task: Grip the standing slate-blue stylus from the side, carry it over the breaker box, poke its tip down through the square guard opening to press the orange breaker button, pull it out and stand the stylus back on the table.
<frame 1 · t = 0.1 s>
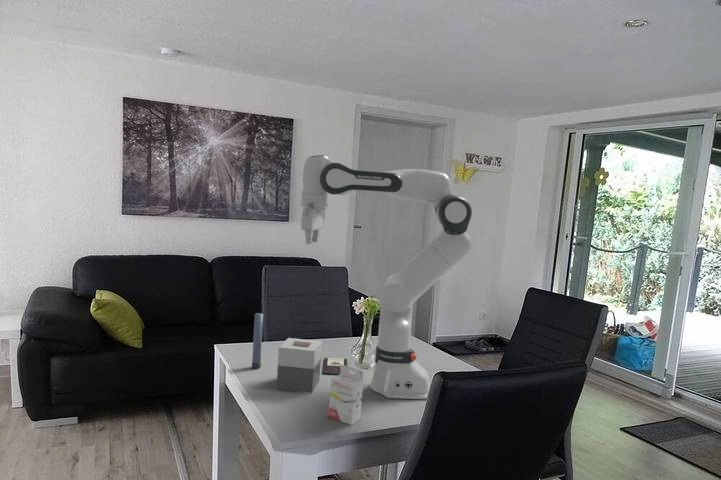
hand: (311, 243, 169), 48 cm above the table, tool pointing down, fingers open, 8 cm apart
chocolate bar: (335, 368, 187), on the table
stylus: (256, 367, 180), on the table
breaker box: (298, 384, 166), on the table
breaker button: (300, 351, 165), point 12 cm above the table, slide at 0.0 cm
ink cartridge box: (344, 419, 142), on the table
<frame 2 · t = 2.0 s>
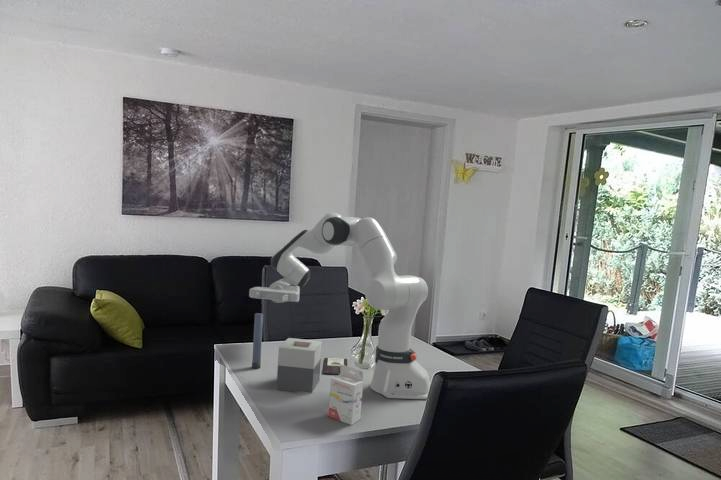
hand: (269, 297, 190), 24 cm above the table, tool horizontal, fingers open, 8 cm apart
nothing on the table moved.
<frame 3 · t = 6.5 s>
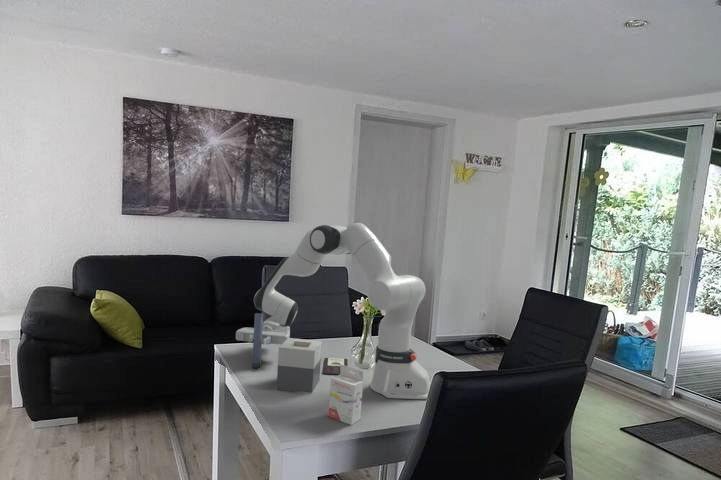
hand: (256, 341, 178), 10 cm above the table, tool horizontal, fingers closed on stylus, 3 cm apart
stylus: (256, 367, 180), on the table, touching gripper
everything else where it was.
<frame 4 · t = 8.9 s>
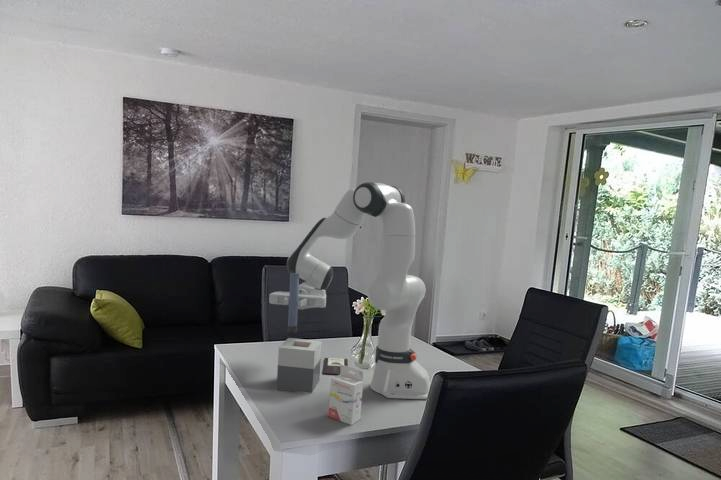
hand: (292, 303, 166), 27 cm above the table, tool horizontal, fingers closed on stylus, 3 cm apart
stylus: (292, 331, 168), point 17 cm above the table, touching gripper
everything else where it was.
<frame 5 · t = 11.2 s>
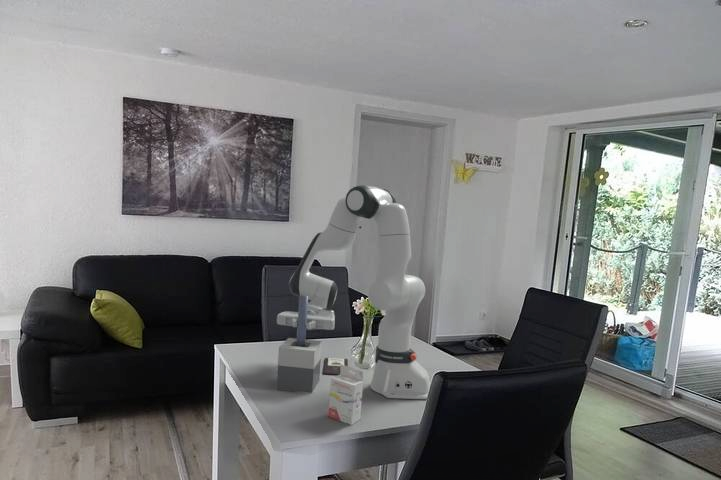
hand: (301, 325, 164), 21 cm above the table, tool horizontal, fingers closed on stylus, 3 cm apart
stylus: (300, 353, 165), point 11 cm above the table, touching breaker button, gripper
breaker button: (300, 357, 165), point 10 cm above the table, slide at 2.0 cm, touching stylus
everything else where it was.
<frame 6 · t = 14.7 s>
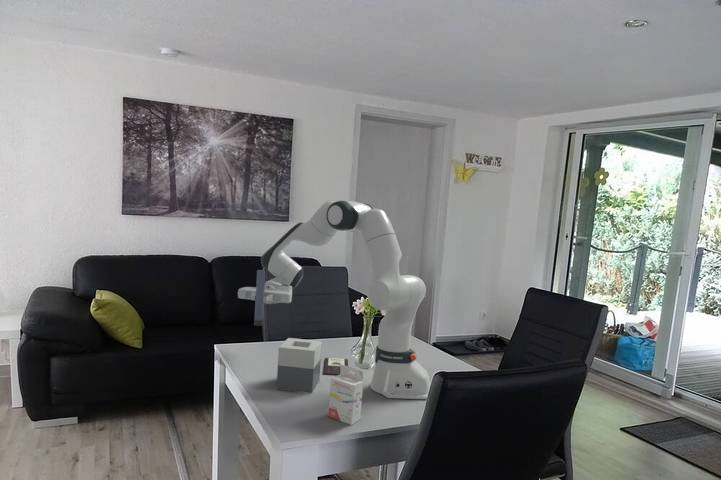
hand: (259, 298, 177), 26 cm above the table, tool horizontal, fingers closed on stylus, 3 cm apart
stylus: (258, 324, 179), point 16 cm above the table, touching gripper
breaker button: (300, 357, 165), point 9 cm above the table, slide at 2.1 cm
everything else where it was.
when the fingers open (10 cm above the table, at t = 17.6 s): stylus stays where it is, on the table.
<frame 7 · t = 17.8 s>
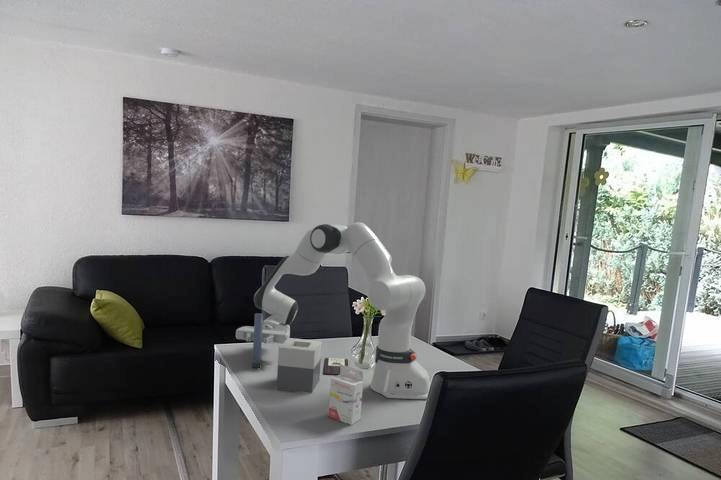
hand: (256, 340, 178), 10 cm above the table, tool horizontal, fingers open, 5 cm apart
stylus: (256, 367, 180), on the table
everything else where it was.
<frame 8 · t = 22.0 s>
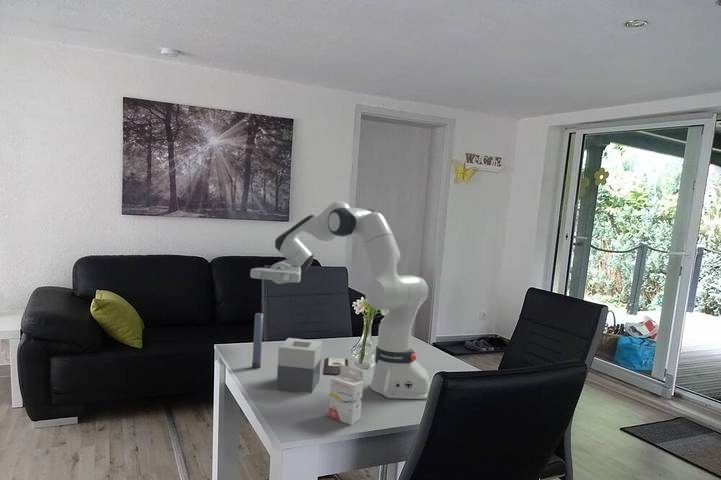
hand: (270, 277, 190), 32 cm above the table, tool horizontal, fingers open, 8 cm apart
nothing on the table moved.
at the end: breaker button slide at 2.1 cm; the gripper is holding nothing; stylus on the table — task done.
